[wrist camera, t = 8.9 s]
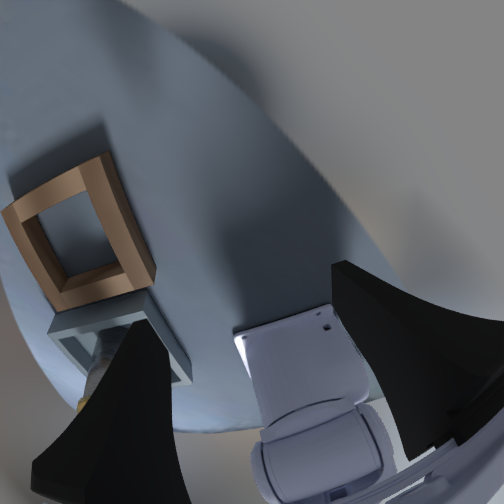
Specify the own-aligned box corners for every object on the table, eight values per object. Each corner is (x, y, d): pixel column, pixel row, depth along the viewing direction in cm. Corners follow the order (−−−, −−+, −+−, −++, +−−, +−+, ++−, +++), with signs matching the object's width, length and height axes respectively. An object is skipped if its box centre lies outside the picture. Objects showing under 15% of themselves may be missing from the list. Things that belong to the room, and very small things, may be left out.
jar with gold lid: (128, 317, 20) (114, 401, 13) (152, 352, 22) (149, 430, 15) (85, 327, 20) (64, 404, 13) (111, 360, 22) (101, 432, 15)
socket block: (109, 150, 14) (99, 156, 12) (156, 268, 19) (153, 284, 17) (14, 201, 14) (0, 211, 12) (65, 296, 18) (57, 311, 17)
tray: (146, 289, 20) (143, 310, 17) (191, 363, 25) (193, 383, 23) (55, 314, 19) (46, 334, 17) (109, 378, 24) (107, 396, 22)
